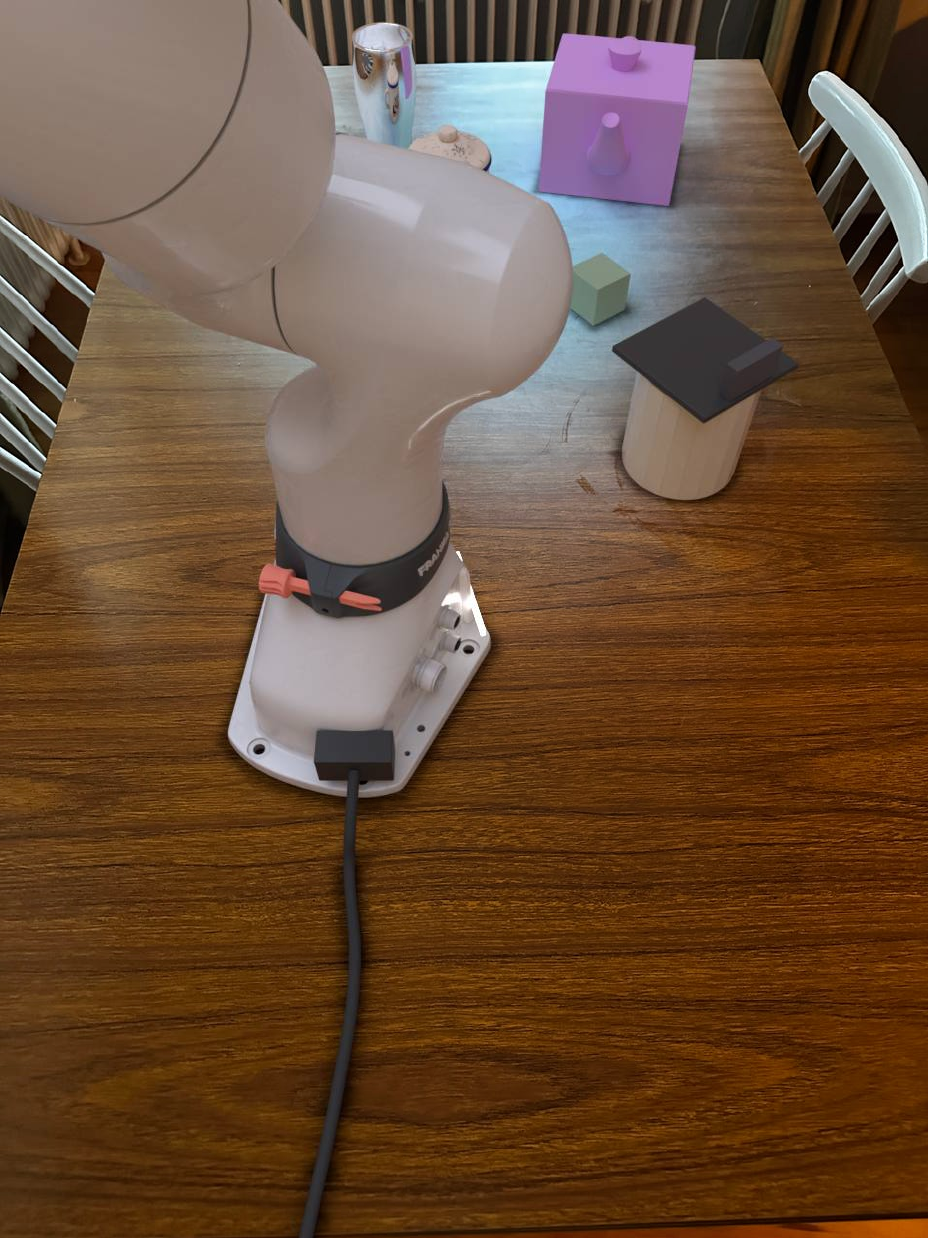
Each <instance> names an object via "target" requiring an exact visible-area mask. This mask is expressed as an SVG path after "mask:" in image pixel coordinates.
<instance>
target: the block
mask: <svg viewBox="0 0 928 1238" xmlns="http://www.w3.org/2000/svg"><path fill="white" fill-rule="evenodd" d="M630 281H631V273H630V272H629V271H628V270H626V269H625V268H624V267H623V266H621V265H619V264H618V263H617V262H615V260H613V259H611V258H610V257H608V256H607V255H606V254H604V253H603V252H600V253H598V254H595V255H594V256H592V257H589V258H588V259H586V260H583V261H581V262H580V263H578V264H575V265H573V294H572V302H571V307H570V310H572V311H573V312H574V313H575V314H577V315H578V316H580V317H581V318H582V319H583V320H585V321H586V322H587V323H588V324H590V325H591V326H592V327H594V326H596V325H599V324H600V323H602V322H604V321H606V320H608V319H610V318H612V317H614V316H616V315H618V314H619V313H621V312H624V311H625V309H626V306H627V305H626V304H627V298H628V292H629V287H630Z"/></svg>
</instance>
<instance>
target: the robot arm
mask: <svg viewBox="0 0 928 1238" xmlns="http://www.w3.org/2000/svg"><path fill="white" fill-rule="evenodd" d="M0 198H2V199H3V200H5V201H7V202H9V203H10V204H12V205H14V206H16V207H18V208H20V209H21V210H23V211H24V212H27V213H29V214H30V215H32V216H34V217H36V218H38V219H40V220H41V221H43V222H46V223H47V224H49V225H51V226H52V227H54V228H56V229H59V230H60V231H62V232H63V233H66V234H68V235H69V236H71V237H73V238H75V239H77V240H79V241H81V242H83V243H84V244H86V245H88V246H89V247H91V248H94V249H95V250H98V251H99V252H101V255H102V257H103V259H104V261H105V263H106V265H107V268H108V269H109V270H110V272H111V273H112V274H113V275H114V277H115V278H116V279H117V280H118V281H119V282H120V283H121V284H123V285H124V286H125V287H127V288H128V289H130V290H132V291H133V292H135V293H137V294H139V295H141V296H142V297H144V298H146V299H147V300H150V302H152V303H154V304H156V305H158V306H160V307H162V308H163V309H165V310H167V311H169V312H171V313H173V314H174V315H176V316H179V317H181V318H183V319H185V320H187V321H189V322H191V323H193V324H195V325H197V326H200V327H202V328H204V329H207V330H211V331H215V332H218V333H220V334H224V335H228V336H231V337H235V338H237V339H241V340H244V341H248V342H251V343H255V344H258V345H261V346H263V347H264V346H265V347H268V348H271V349H275V350H278V351H281V352H285V353H288V354H291V355H294V356H298V357H301V358H304V359H306V360H309V361H311V362H312V363H314V364H313V365H311V366H310V367H308V368H306V369H304V370H303V371H301V372H300V373H298V374H296V375H295V376H294V377H292V378H291V379H290V380H289V381H288V382H287V383H286V384H285V385H284V386H283V387H282V388H281V389H280V390H279V392H278V393H277V395H276V396H275V398H274V400H273V402H272V404H271V406H270V407H269V411H268V415H267V417H266V422H265V427H264V434H263V443H264V448H265V452H266V456H267V460H268V461H267V462H268V465H269V470H270V473H271V478H272V482H273V486H274V487H273V488H274V491H275V495H276V499H277V500H276V506H275V508H276V509H275V517H274V524H273V525H274V528H273V540H274V541H275V558H274V561H273V563H267V564H265V565H264V566H263V568H262V570H261V572H260V575H259V581H258V589H259V591H260V593H262V594H264V598H263V601H262V605H261V608H260V612H259V615H258V620H257V623H256V627H255V630H254V634H253V638H252V641H251V646H250V649H249V652H248V655H247V659H246V662H245V667H244V669H243V673H242V677H241V681H240V684H239V688H238V692H237V695H236V699H235V702H234V706H233V709H232V713H231V717H230V721H229V725H228V728H227V737H228V742H229V744H230V745H231V747H232V748H233V750H234V751H235V752H236V754H238V755H239V756H240V757H241V758H242V759H243V760H244V761H245V762H247V763H248V764H249V765H251V766H252V767H253V768H255V769H256V770H258V771H260V772H262V773H263V774H266V775H267V776H270V777H272V778H274V779H276V780H278V781H281V782H283V783H286V784H290V785H292V786H296V787H298V788H301V789H305V790H308V791H311V792H312V791H313V792H316V793H321V794H324V795H329V796H330V795H331V796H336V797H344V798H346V799H345V811H344V827H343V847H342V854H343V855H342V869H343V890H344V901H345V902H344V903H345V915H346V924H347V926H346V927H347V939H348V970H347V971H348V975H347V987H346V988H347V989H346V998H345V1008H344V1015H343V1022H342V1026H341V1027H342V1028H341V1034H340V1039H339V1045H338V1050H337V1054H336V1055H337V1056H336V1061H335V1066H334V1070H333V1077H332V1082H331V1086H330V1092H329V1097H328V1102H327V1107H326V1108H327V1109H326V1113H325V1118H324V1123H323V1128H322V1131H321V1132H322V1133H321V1137H320V1141H319V1146H318V1151H317V1155H316V1159H315V1164H314V1168H313V1172H312V1177H311V1180H310V1185H309V1190H308V1194H307V1198H306V1202H305V1207H304V1211H303V1215H302V1216H303V1217H302V1220H301V1226H300V1229H299V1235H298V1238H314V1235H315V1231H316V1227H317V1222H318V1221H317V1220H318V1217H319V1212H320V1208H321V1207H320V1206H321V1202H322V1198H323V1193H324V1189H325V1184H326V1180H327V1177H328V1176H327V1175H328V1171H329V1166H330V1163H331V1157H332V1153H333V1149H334V1145H335V1144H334V1143H335V1140H336V1134H337V1131H338V1124H339V1120H340V1115H341V1109H342V1105H343V1104H342V1103H343V1099H344V1093H345V1087H346V1082H347V1077H348V1072H349V1071H348V1070H349V1067H350V1059H351V1054H352V1049H353V1044H354V1037H355V1031H356V1025H357V1019H358V1018H357V1017H358V1012H359V1011H358V1010H359V1003H360V993H361V975H362V940H361V926H360V914H359V906H358V904H359V903H358V895H357V894H358V893H357V881H356V879H357V878H356V840H357V839H356V838H357V819H358V806H359V805H358V804H359V798H361V799H363V798H376V797H384V796H388V795H391V794H395V793H398V792H400V791H402V790H403V789H404V788H405V786H406V785H407V784H408V783H409V780H411V778H412V776H413V775H414V773H415V771H416V770H417V768H418V767H419V765H420V763H421V762H422V761H423V759H424V757H425V755H426V754H427V752H428V751H429V749H430V747H432V744H433V743H434V741H435V739H436V737H437V736H438V734H439V733H440V732H441V730H442V728H443V726H444V725H445V723H446V722H447V721H448V719H449V717H450V715H451V713H452V712H453V710H454V709H455V707H456V705H457V704H458V702H459V701H460V699H461V698H462V695H463V694H465V693H464V692H465V691H466V689H467V688H468V686H469V684H470V683H471V682H472V680H473V678H474V677H475V675H476V673H477V672H478V670H479V668H480V667H481V665H482V664H483V662H484V660H485V659H486V657H487V656H488V654H489V652H490V651H491V648H492V639H491V635H490V633H489V630H488V628H487V627H486V626H485V624H484V620H483V618H482V614H481V612H480V609H479V606H478V602H477V600H476V598H475V597H476V596H475V595H474V591H473V588H472V585H471V576H470V571H469V569H467V566H466V564H465V562H464V561H463V559H462V555H461V553H460V551H457V550H456V548H455V547H454V545H453V544H452V542H451V528H452V508H451V504H450V499H449V495H448V491H447V487H446V485H445V482H444V479H443V463H444V449H445V448H444V447H445V436H446V433H447V429H448V427H449V426H450V423H451V422H452V420H453V419H454V418H455V417H456V416H457V415H459V414H460V413H462V412H463V411H464V410H467V409H468V408H470V407H471V406H474V405H476V404H478V403H481V402H484V401H487V400H493V399H496V398H500V397H503V396H505V395H507V394H509V393H510V392H513V391H514V390H516V389H517V388H519V387H520V386H521V385H523V384H524V383H526V382H527V381H528V380H529V379H530V378H531V377H532V376H534V375H535V374H536V373H537V372H538V370H540V368H541V367H542V365H544V364H545V363H546V362H547V360H548V359H549V358H550V355H551V354H552V352H553V351H554V350H555V348H556V346H557V345H558V343H559V341H560V338H562V337H561V336H562V334H563V331H564V330H565V328H566V324H567V322H568V318H569V315H570V311H571V308H570V307H571V302H572V294H573V266H574V265H573V258H572V252H571V248H570V244H569V240H568V237H567V234H566V232H565V230H564V227H563V224H562V223H561V219H560V218H559V216H558V214H557V212H556V211H555V209H554V207H553V206H552V205H551V203H549V202H548V201H546V200H544V199H542V198H540V197H538V196H536V195H534V194H532V193H530V192H528V191H526V190H525V189H522V188H521V187H519V186H517V185H515V184H513V183H511V182H509V181H507V180H505V179H503V178H500V177H498V176H497V175H494V174H492V173H490V172H489V173H488V172H486V171H484V170H481V169H479V168H477V167H475V166H473V165H471V164H469V163H466V162H462V161H457V160H453V159H449V158H444V157H440V156H436V155H432V154H427V153H423V152H419V151H414V150H410V149H406V148H402V147H397V146H393V145H389V144H385V143H380V142H376V141H372V140H367V139H366V138H363V137H358V136H354V135H350V134H348V133H346V132H341V131H338V130H337V129H336V116H335V107H334V101H333V95H332V90H331V86H330V82H329V79H328V75H327V72H326V70H325V68H324V66H323V62H322V61H321V59H320V57H319V55H318V53H317V51H316V50H315V48H314V47H313V46H312V44H311V42H310V41H309V40H308V38H307V37H306V36H305V34H304V33H303V32H302V30H301V29H300V28H299V26H298V25H297V24H296V22H295V21H294V20H293V18H292V17H291V16H290V14H289V13H288V12H287V10H286V9H285V8H284V6H283V5H282V3H281V2H280V1H279V0H0ZM466 651H471V652H472V653H466ZM260 749H261V750H264V751H263V753H260V754H257V753H256V752H257V751H258V750H260ZM361 781H362V782H366V781H367V782H366V783H364V784H360V782H361Z"/></svg>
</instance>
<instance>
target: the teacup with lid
mask: <svg viewBox="0 0 928 1238" xmlns="http://www.w3.org/2000/svg"><path fill="white" fill-rule="evenodd" d="M408 149H410V150H414V151H419V152H423V153H427V154H432V155H436V156H440V157H444V158H449V159H453V160H457V161H462V162H466V163H469V164H471V165H473V166H475V167H477V168H479V169H481V170H484V171H486V172H488V173H490V167H491V165H492V153H491V151H490V148H489V147H488V144H486V143H485V142H484V140H482V139H481V138H479V136H476V135H473V134H471V133H469V132H465V131H461V130H460V131H459V130H458V128H457V127H455V125H453V124H444V125H441V126H440V127H439V128H438V130H437V131H432V132H429V133H426V134H423V135H421V136H419V137H418V138H416V139H414V140H413V141H412V144H411V145H410V146H409V148H408Z"/></svg>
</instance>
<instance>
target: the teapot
mask: <svg viewBox="0 0 928 1238" xmlns="http://www.w3.org/2000/svg"><path fill="white" fill-rule="evenodd" d="M695 55H696V45H692V44H681V43H671V42H661V41H653V40H642V39H640V40H639V39H638V38H637V37H635V36H631V35H626V36H623V37H622V38H620V37H609V36H599V35H589V34H588V35H586V34H576V33H562V35H561V38H560V41H559V45H558V48H557V51H556V55H555V58H554V61H553V65H552V68H551V71H550V74H549V78H548V82H547V85H546V88H545V91H544V92H545V94H544V107H543V108H544V109H543V121H542V122H543V123H542V136H541V151H540V163H539V164H540V165H539V181H538V192H540V193H550V194H558V195H565V196H566V195H567V196H574V197H583V198H584V197H585V198H590V199H591V198H592V199H599V200H601V199H602V200H610V201H611V200H612V201H619V202H627V203H628V202H629V203H636V204H647V205H654V206H655V205H656V206H663V207H670V202H671V196H672V191H673V186H674V181H675V175H676V170H677V166H678V161H679V160H678V159H679V153H680V149H681V144H682V140H683V139H682V138H683V135H684V129H685V123H686V117H687V112H688V107H689V103H690V101H689V100H690V94H691V93H690V92H691V85H692V78H693V70H694V62H695Z"/></svg>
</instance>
